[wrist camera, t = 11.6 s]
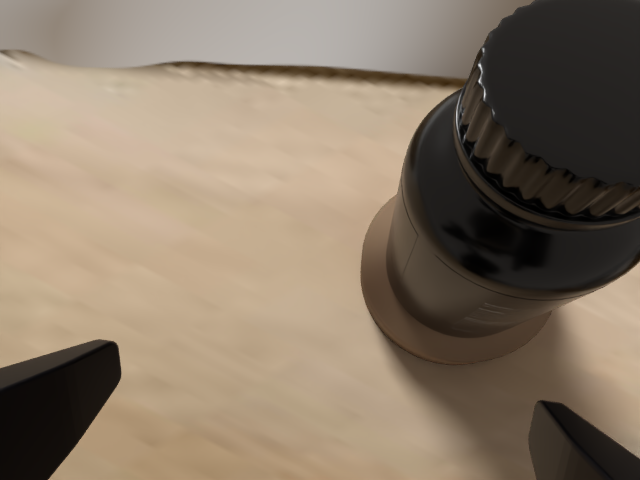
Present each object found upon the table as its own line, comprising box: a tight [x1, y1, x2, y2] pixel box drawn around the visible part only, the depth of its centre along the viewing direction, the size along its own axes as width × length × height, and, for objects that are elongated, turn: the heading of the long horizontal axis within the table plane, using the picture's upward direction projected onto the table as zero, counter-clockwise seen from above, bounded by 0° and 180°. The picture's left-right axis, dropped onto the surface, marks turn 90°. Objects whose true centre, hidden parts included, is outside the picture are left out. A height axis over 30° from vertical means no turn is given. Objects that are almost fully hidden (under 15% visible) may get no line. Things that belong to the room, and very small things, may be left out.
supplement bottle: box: [386, 0, 640, 338], centre depth 13 cm, size 7×7×12 cm
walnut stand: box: [361, 195, 552, 365], centre depth 20 cm, size 9×9×2 cm
